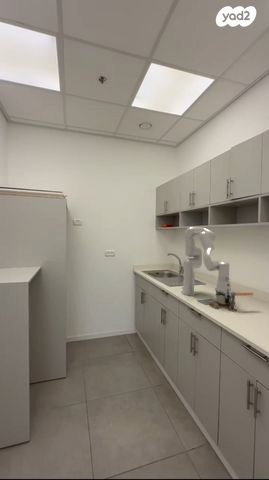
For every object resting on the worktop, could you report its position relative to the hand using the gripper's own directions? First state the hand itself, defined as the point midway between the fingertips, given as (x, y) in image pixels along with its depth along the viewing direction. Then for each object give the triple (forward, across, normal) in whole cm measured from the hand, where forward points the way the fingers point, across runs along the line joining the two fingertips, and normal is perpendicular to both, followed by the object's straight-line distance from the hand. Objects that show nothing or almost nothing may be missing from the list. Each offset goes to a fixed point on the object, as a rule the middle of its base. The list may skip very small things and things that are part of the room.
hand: (222, 301), depth 172 cm
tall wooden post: (-7, -11, -7) cm, 15 cm away
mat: (+3, +11, +4) cm, 12 cm away
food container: (+4, +1, 0) cm, 4 cm away
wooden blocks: (+4, -3, 0) cm, 5 cm away
